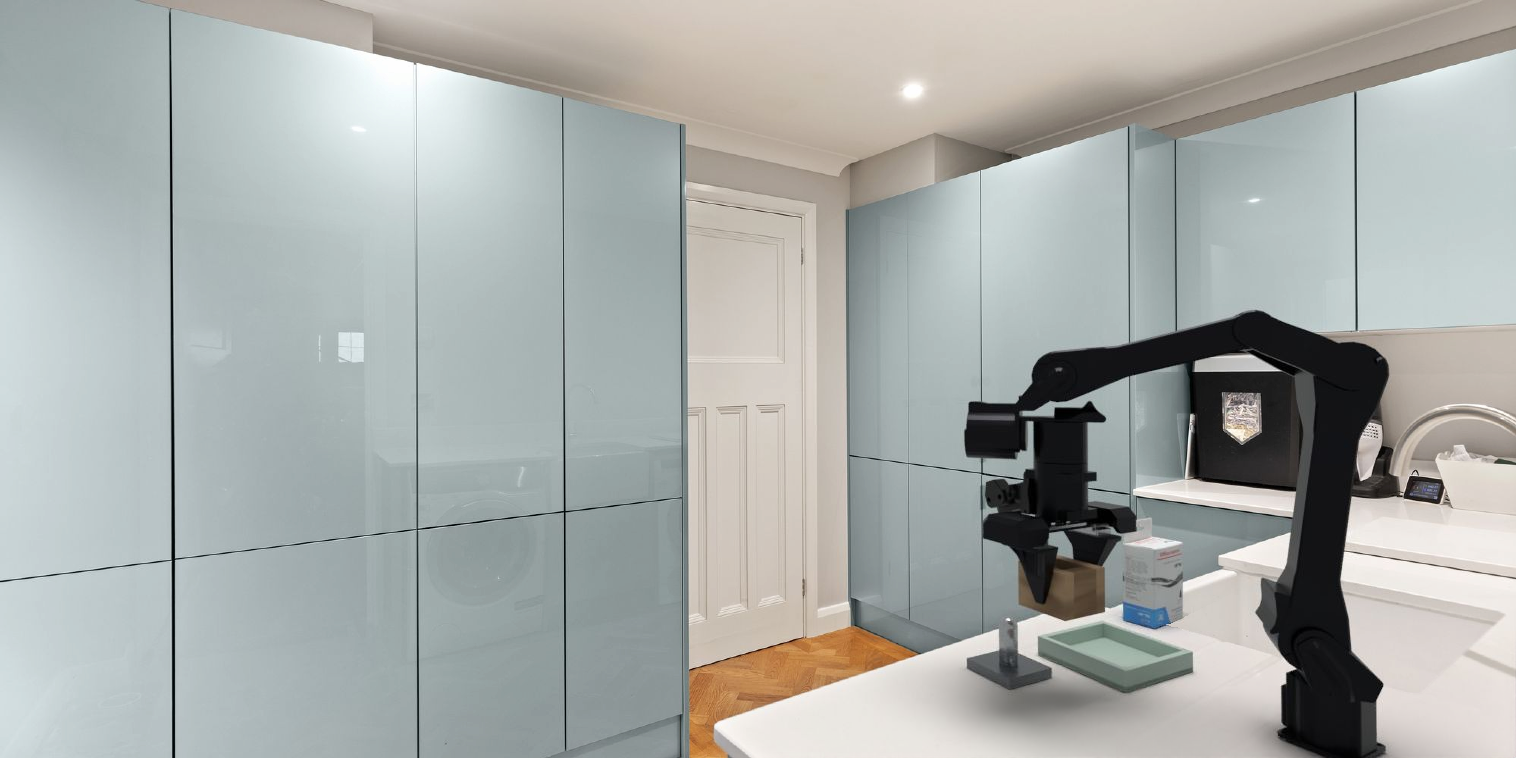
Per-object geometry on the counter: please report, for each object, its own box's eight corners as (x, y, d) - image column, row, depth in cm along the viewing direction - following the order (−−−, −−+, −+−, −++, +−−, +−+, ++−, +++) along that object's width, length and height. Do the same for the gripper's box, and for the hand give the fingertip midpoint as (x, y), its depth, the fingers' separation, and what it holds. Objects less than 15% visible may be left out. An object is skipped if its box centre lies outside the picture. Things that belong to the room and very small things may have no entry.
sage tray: (1193, 671, 86) (1192, 651, 86) (1126, 692, 80) (1125, 671, 80) (1102, 638, 97) (1102, 620, 97) (1037, 654, 92) (1037, 635, 92)
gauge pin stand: (1051, 677, 85) (1051, 620, 85) (1009, 689, 81) (1009, 630, 81) (1007, 657, 91) (1007, 604, 91) (966, 667, 88) (966, 612, 88)
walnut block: (1105, 612, 78) (1104, 567, 78) (1065, 621, 75) (1064, 574, 75) (1057, 596, 83) (1057, 554, 83) (1018, 604, 80) (1018, 561, 80)
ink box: (1155, 630, 100) (1154, 528, 100) (1121, 620, 105) (1120, 522, 105) (1185, 618, 105) (1184, 521, 105) (1151, 609, 109) (1150, 516, 109)
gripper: (1058, 451, 90) (1059, 571, 90) (947, 459, 82) (948, 591, 82) (1138, 459, 81) (1139, 594, 80) (1022, 469, 72) (1023, 620, 72)
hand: (1061, 598), depth 79 cm, fingers closed on walnut block, 6 cm apart
